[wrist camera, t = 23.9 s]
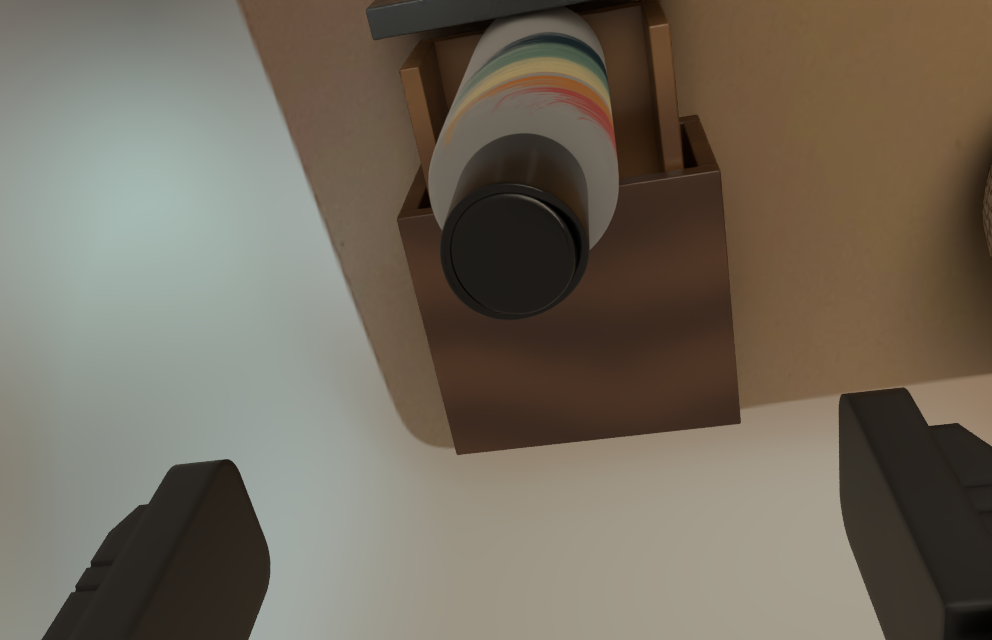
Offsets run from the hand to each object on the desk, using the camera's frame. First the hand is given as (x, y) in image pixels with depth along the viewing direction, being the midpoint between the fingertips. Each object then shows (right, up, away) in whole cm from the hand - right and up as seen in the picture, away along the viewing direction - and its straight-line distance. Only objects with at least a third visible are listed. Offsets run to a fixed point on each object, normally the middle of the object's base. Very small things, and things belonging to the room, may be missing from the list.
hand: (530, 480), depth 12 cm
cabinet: (+4, +5, +35) cm, 35 cm away
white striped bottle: (+1, +13, +28) cm, 31 cm away
